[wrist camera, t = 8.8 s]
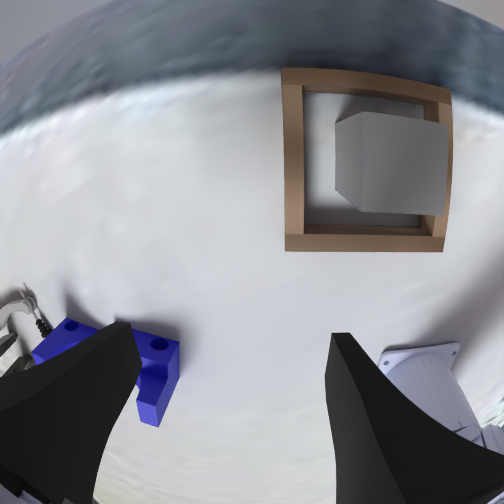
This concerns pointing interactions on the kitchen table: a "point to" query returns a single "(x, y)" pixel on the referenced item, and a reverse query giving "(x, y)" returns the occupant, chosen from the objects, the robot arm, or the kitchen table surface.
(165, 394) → the cable clip
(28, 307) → the bike brake
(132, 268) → the kitchen table surface
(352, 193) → the grey block
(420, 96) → the brown square frame
